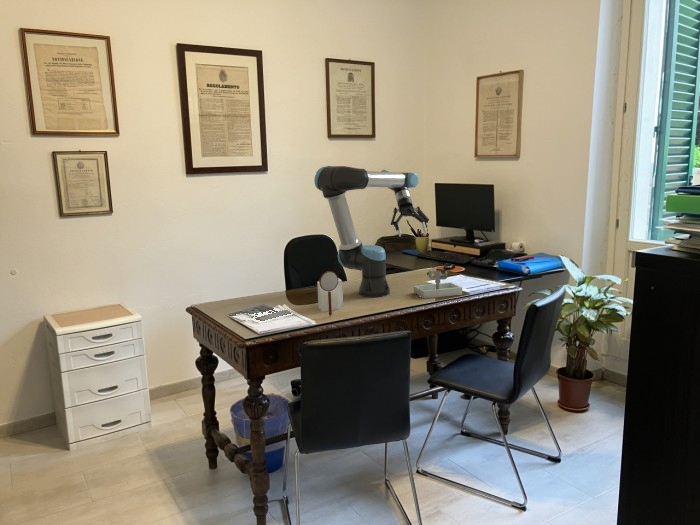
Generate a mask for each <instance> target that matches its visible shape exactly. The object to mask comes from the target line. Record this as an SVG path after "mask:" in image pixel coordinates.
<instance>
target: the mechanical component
mask: <svg viewBox="0 0 700 525" xmlns="http://www.w3.org/2000/svg"><path fill="white" fill-rule="evenodd" d="M426 275H427V276H428V278H429V280H431V281H433V280H434V281H435V282H434V284H436V290H437V289H439V283H441V280H442V281H443V280H446V279H447V278H448V276H449V275H450V274H449V271H446V270H445V272H444V273H443V272H442V271H441V270H428V271H427V272H426Z"/></svg>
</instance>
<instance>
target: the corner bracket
mask: <svg viewBox="0 0 700 525" xmlns="http://www.w3.org/2000/svg"><path fill="white" fill-rule="evenodd" d="M316 284H317V302H318V304H317V305H318V308H319V310H320V311H321V312H323V313H324V312H325V313H326V312H329V303H328V292H329V291H325V290H323V289H322V288H321V286H320V283H319V281H317V283H316ZM330 292H331V308H332V312H333V311H339V308H342V307H344V300H343V298H344V297H343V295H344V294H343V293H344V292H343V280H342V279H341V278H339V277H338V285H337V287H336V288H335V289H334V290H332V291H330Z"/></svg>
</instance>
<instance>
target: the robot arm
mask: <svg viewBox="0 0 700 525" xmlns="http://www.w3.org/2000/svg"><path fill="white" fill-rule="evenodd" d="M313 182H314V186H315V187H316V188H317V190H319V191H321V192H322V196H323V198H324V199H326V200H327V202H328V205H329V208H330V211H331V212H330V213H331V215H332V218H333V221H334V224H335V228H336V231H337V235H338V238H339V240H340V244H339V246H338V247H339V249H338V251H337V252H338V253H337V260H338V263H339V264H340V266H342V267H344V268H346V269H348V270H355V271H361V281H360V285H359V289H358V294H359V295H360V296H362V297H366V298H367V297H368V298H377V297H378V298H379V297H384V296H388V295H390V294H391V292H390V291H391V290H390V285H389V283H388V280H387V270H386V269H387V266H386V265H387V263H386V262H387V260H386V259H387V258H386V257H387V255H386V251H385V248H383V247H382V246H379V245H375V244H365V245H363V243H362V242H363V241H362V240H361V239H360V238H358V236H357V232H356V229H355V225H354V222H353V218H352V216H351V212H350V209H349V204H348V201H347V197H346V193H347V192H349V191H355V190H357V191H358V190H365V189H366V188H387V189H389V190H390V191H393V192H394V195H395V199H396V203H397V207H398V208H397V207H394V208H393V212H392V213H393V214H392V219H391V221H390V226H393V227H394V228H395V231H396V232H397V233H398V237H400V238H401V237H402V234H403V233H402V230H401V225H400V221H401V219H402V218H403V217H404V218H405V217H412V218H413V219H416V220H417V221H418V222H419V223H421V228H422V231H423V234H424V236H427V234H428V230H427V229H428V223H429V220H430V219H429V218H428V216H426V214H425V213H424V212H423V211H422V210H421V207H420V206H416V207H414V206H413V205H414V204H413V201H412V197H411V193H410V191H409V189H410V188H411V189H412V188H416V187H417V185H418V184H419V176H418V173H415V172H403V171H402V172H398V171H397V172H396V171H389V170H387V169H382V170H380V171H376V170H375V171H373V170H367V169H366V168H357V167H352V166H346V165H345V166H344V165H337V166H336V165H335V166H332V165H327V166H321V167H320V168H319V169H317V171H316V173H315V176H314V181H313ZM398 213H400V214H399V216H398V217H397V219H396V215H397V214H398ZM395 219H396V220H395Z"/></svg>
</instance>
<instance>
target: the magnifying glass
mask: <svg viewBox="0 0 700 525" xmlns="http://www.w3.org/2000/svg"><path fill="white" fill-rule="evenodd" d="M338 278H339V276H338V274H336V273H335V272H334V271H333V270H327V271H325V272H324V273H322V274H321V276H320V277H319V280H318V282H319V283H320V286H321V288H322V289H323V290H325V291H329V292H328V303H329V311H328V315H329V318H331V317H332V315H333V313H332V312H333V311H332V308H331V292H330V291H332V290H334V289H335V288H336V287H337V285H338Z"/></svg>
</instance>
